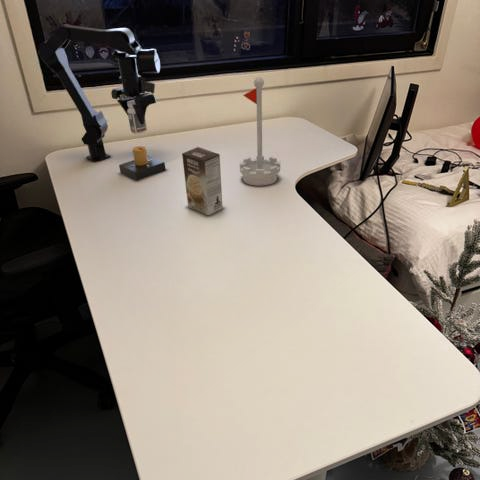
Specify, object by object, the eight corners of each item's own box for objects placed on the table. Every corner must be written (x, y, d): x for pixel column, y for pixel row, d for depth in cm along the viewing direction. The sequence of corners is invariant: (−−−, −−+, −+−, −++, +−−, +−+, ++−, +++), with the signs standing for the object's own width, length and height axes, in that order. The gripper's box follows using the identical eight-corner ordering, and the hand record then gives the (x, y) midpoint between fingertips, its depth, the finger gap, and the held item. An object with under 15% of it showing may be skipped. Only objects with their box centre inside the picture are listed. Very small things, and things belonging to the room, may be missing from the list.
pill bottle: (148, 128, 167) (144, 99, 160) (145, 133, 162) (140, 103, 156) (133, 129, 167) (128, 99, 161) (129, 134, 163) (123, 103, 157)
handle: (132, 163, 158) (129, 147, 155) (143, 159, 160) (140, 144, 157) (139, 166, 155) (137, 150, 152) (150, 162, 158) (148, 147, 154)
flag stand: (285, 174, 153) (288, 73, 134) (271, 189, 144) (271, 83, 125) (249, 169, 158) (247, 71, 139) (233, 183, 149) (228, 80, 130)
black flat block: (120, 173, 159) (118, 164, 157) (149, 163, 166) (147, 154, 164) (136, 180, 154) (135, 171, 152) (165, 170, 160) (164, 161, 158)
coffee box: (186, 207, 136) (180, 152, 126) (202, 200, 140) (197, 146, 130) (208, 216, 131) (203, 160, 121) (224, 208, 135) (220, 153, 125)
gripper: (165, 72, 152) (171, 122, 162) (133, 66, 163) (141, 112, 172) (137, 78, 146) (145, 129, 156) (106, 71, 157) (115, 119, 167)
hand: (137, 122), depth 163 cm, fingers closed on pill bottle, 6 cm apart
